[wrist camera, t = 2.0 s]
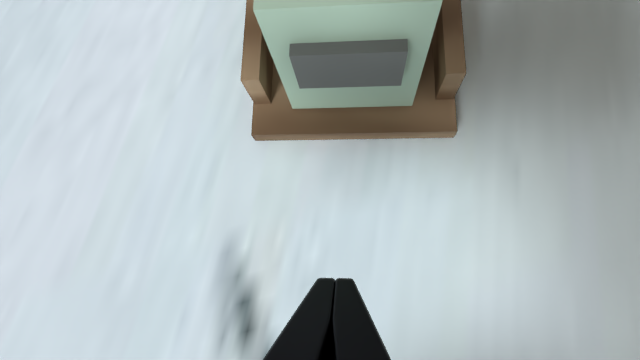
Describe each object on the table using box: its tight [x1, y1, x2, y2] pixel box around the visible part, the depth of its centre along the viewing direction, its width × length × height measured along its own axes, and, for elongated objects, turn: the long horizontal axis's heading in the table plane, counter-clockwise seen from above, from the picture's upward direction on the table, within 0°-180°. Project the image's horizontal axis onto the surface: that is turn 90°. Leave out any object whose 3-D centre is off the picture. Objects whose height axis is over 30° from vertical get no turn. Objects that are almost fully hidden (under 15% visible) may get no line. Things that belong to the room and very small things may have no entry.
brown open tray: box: [241, 0, 466, 141], centre depth 23 cm, size 12×12×5 cm
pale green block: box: [253, 0, 443, 109], centre depth 19 cm, size 4×7×9 cm, turn 89°
